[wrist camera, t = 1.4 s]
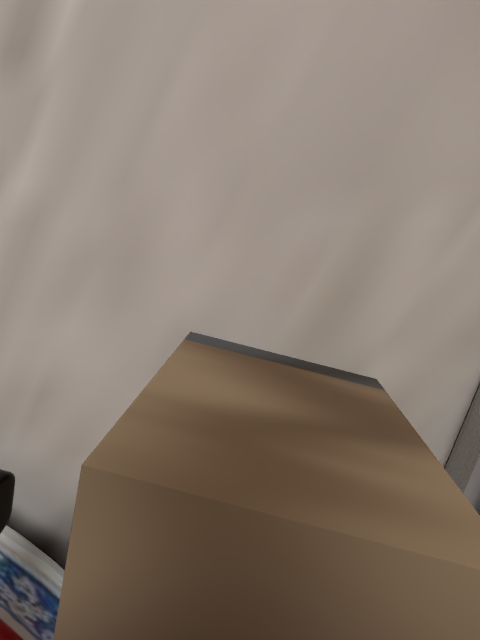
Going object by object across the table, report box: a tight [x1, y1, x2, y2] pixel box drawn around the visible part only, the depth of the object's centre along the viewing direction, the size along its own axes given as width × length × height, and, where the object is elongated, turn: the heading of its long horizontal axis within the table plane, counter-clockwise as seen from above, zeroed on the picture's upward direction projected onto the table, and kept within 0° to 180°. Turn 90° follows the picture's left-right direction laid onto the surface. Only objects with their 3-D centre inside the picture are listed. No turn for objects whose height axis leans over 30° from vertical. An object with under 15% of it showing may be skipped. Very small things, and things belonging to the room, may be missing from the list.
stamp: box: [53, 332, 480, 640], centre depth 8 cm, size 5×5×6 cm
